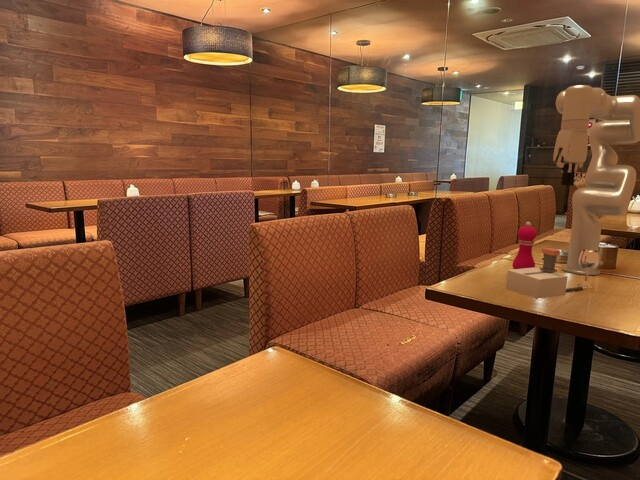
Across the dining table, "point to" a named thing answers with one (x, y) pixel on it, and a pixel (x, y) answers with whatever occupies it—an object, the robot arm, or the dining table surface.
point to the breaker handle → (549, 259)
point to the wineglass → (588, 263)
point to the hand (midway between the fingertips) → (567, 185)
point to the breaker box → (538, 283)
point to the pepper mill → (525, 247)
